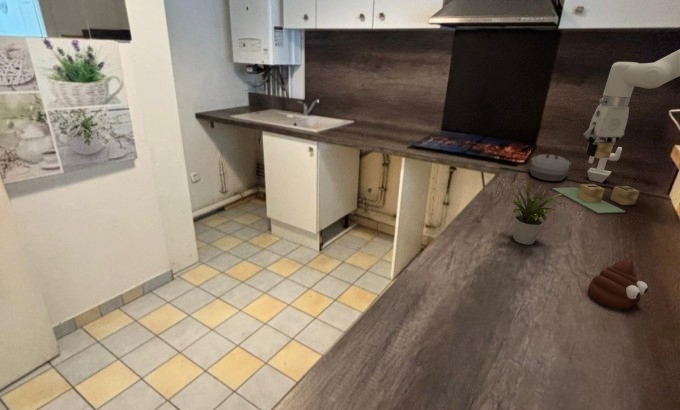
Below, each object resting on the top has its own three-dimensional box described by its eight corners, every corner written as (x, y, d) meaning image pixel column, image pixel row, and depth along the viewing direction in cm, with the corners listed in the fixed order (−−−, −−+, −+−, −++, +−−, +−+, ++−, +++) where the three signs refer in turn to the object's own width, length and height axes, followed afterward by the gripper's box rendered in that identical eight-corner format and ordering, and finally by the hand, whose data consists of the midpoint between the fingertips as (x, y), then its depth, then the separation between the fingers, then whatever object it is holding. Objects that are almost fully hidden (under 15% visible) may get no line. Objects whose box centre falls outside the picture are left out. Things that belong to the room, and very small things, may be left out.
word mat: (575, 188, 136) (576, 187, 136) (625, 212, 116) (625, 211, 116) (551, 189, 135) (552, 188, 134) (597, 213, 115) (598, 212, 115)
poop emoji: (604, 280, 81) (617, 244, 77) (648, 302, 74) (665, 264, 70) (578, 292, 76) (591, 255, 73) (622, 317, 70) (639, 277, 66)
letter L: (597, 153, 128) (602, 139, 126) (609, 157, 124) (614, 143, 122) (585, 154, 128) (589, 139, 126) (596, 158, 123) (601, 143, 121)
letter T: (622, 199, 127) (627, 185, 125) (634, 204, 122) (640, 190, 120) (609, 199, 126) (614, 185, 124) (621, 205, 122) (627, 191, 119)
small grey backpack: (529, 166, 161) (524, 178, 145) (534, 148, 157) (529, 158, 142) (568, 172, 154) (567, 186, 138) (573, 153, 150) (573, 165, 135)
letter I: (589, 196, 127) (593, 183, 125) (600, 202, 122) (605, 188, 120) (576, 197, 126) (580, 183, 124) (587, 203, 122) (592, 188, 120)
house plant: (480, 236, 99) (492, 180, 92) (505, 222, 107) (517, 170, 101) (533, 258, 89) (550, 197, 82) (556, 241, 97) (572, 185, 91)
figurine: (585, 175, 151) (596, 140, 145) (612, 180, 145) (624, 144, 139) (581, 179, 146) (592, 143, 140) (609, 185, 140) (621, 147, 134)
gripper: (600, 103, 114) (583, 158, 121) (647, 103, 116) (627, 157, 123) (582, 100, 121) (567, 152, 128) (627, 100, 123) (610, 152, 130)
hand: (597, 154), depth 126 cm, fingers closed on letter L, 5 cm apart
